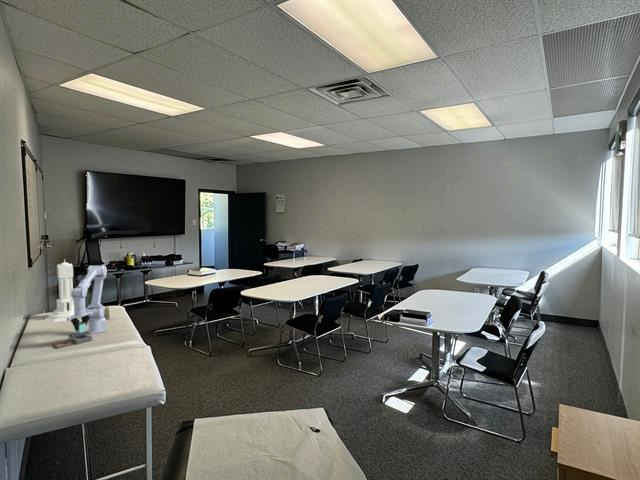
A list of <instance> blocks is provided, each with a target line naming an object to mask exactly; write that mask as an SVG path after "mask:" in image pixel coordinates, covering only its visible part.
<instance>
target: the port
mask: <svg viewBox="0 0 640 480" xmlns="http://www.w3.org/2000/svg"><path fill="white" fill-rule="evenodd" d="M85 332H86V331H85ZM85 332H81V333H77V332H68V334H67V335H68V342H70V343H72V344H75V345H80V344H85V343H88V342H92V341H93V336H92V335H90V334H87V333H85ZM84 342H85V343H84Z"/></svg>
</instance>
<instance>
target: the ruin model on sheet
mask: <svg viewBox="0 0 640 480" xmlns="http://www.w3.org/2000/svg"><path fill="white" fill-rule="evenodd" d="M103 317H105V319H106V321H108V320H111V318H110V308H109V306H105V307H104V316H103Z"/></svg>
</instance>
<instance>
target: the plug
mask: <svg viewBox="0 0 640 480" xmlns="http://www.w3.org/2000/svg"><path fill="white" fill-rule="evenodd" d="M74 330H75V329H74ZM75 332H77V333H81V332H87V326H86V322H82V321H79V330H78V331H76V330H75Z"/></svg>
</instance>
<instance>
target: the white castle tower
mask: <svg viewBox="0 0 640 480" xmlns="http://www.w3.org/2000/svg"><path fill="white" fill-rule="evenodd" d="M63 260H64V261H63V262H62V263H59V264H58V263H57V265H56V275H57V276H56V277H57V278H58V280H57V282H58V297H59V298H58V299H55V301H56V302H55V303H56V309H55V310H53V311H52V312H51V313H50V314H48V316H47V317H46V318H44V321H48V322H52V323H55V322H57V323H58V322H67V317H70V316H73V315H74V301H73V298H72V296H71V293H72V290H73V289H74V288H73V287H74V285H73V282H74V281H73V278H74V266H73V263H69V262H66V259H65V258H64V259H63Z"/></svg>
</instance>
